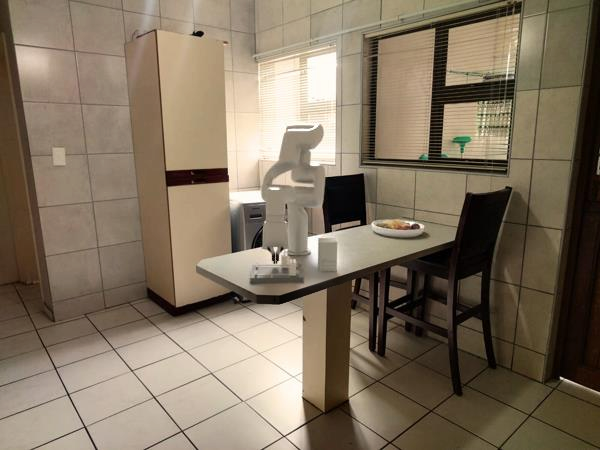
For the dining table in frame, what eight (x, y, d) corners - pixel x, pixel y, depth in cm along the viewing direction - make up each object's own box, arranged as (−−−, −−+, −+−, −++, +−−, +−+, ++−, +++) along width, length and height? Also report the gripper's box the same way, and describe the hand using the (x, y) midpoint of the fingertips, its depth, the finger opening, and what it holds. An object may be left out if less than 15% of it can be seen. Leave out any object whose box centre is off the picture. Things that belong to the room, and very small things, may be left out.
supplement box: (334, 266, 172) (335, 237, 169) (336, 271, 165) (337, 242, 162) (317, 266, 172) (318, 237, 169) (318, 271, 164) (319, 241, 162)
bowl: (360, 232, 237) (361, 219, 235) (390, 225, 256) (391, 213, 255) (404, 242, 215) (405, 227, 213) (433, 233, 235) (434, 220, 233)
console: (252, 269, 166) (252, 262, 166) (300, 269, 168) (300, 262, 167) (250, 283, 151) (250, 275, 150) (303, 282, 152) (303, 274, 151)
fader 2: (289, 271, 157) (289, 258, 156) (295, 271, 157) (295, 258, 156) (289, 275, 152) (289, 262, 151) (296, 275, 152) (296, 262, 151)
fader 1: (281, 264, 165) (281, 252, 164) (287, 264, 166) (287, 252, 164) (281, 268, 161) (281, 255, 160) (287, 268, 161) (287, 255, 160)
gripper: (293, 216, 163) (293, 260, 167) (256, 216, 162) (257, 260, 166) (294, 220, 156) (294, 265, 159) (256, 220, 155) (256, 265, 159)
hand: (275, 262), depth 163 cm, fingers closed
